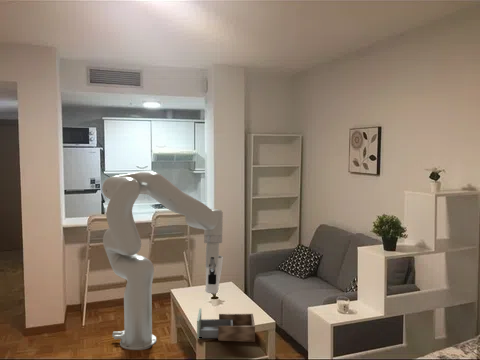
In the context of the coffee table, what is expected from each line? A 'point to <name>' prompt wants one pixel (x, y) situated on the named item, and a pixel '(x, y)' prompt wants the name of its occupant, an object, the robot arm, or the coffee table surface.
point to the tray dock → (237, 328)
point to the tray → (210, 326)
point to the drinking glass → (214, 287)
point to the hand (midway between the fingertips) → (212, 281)
